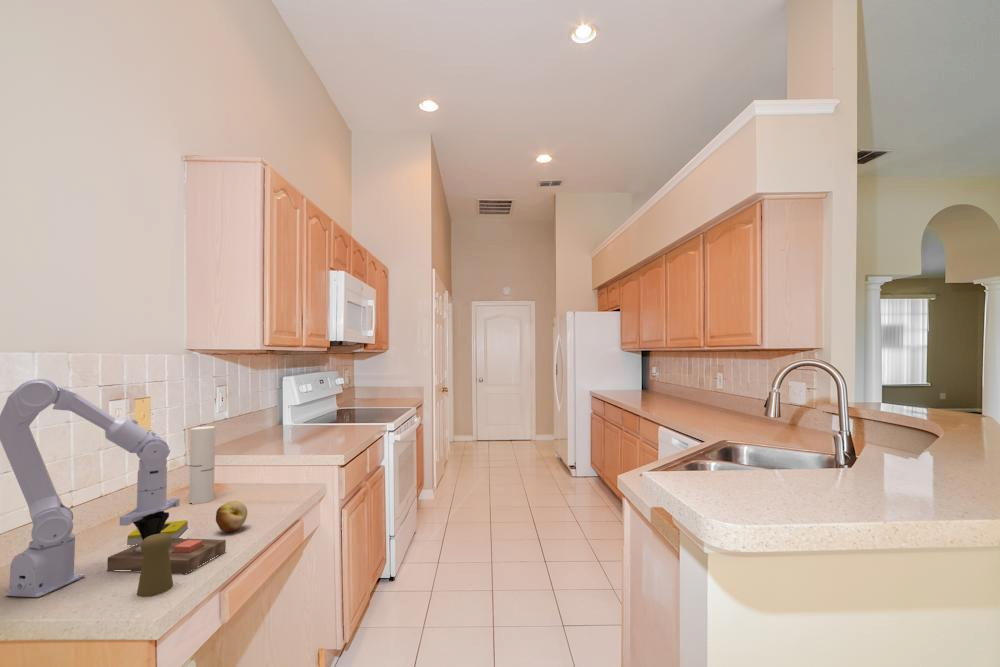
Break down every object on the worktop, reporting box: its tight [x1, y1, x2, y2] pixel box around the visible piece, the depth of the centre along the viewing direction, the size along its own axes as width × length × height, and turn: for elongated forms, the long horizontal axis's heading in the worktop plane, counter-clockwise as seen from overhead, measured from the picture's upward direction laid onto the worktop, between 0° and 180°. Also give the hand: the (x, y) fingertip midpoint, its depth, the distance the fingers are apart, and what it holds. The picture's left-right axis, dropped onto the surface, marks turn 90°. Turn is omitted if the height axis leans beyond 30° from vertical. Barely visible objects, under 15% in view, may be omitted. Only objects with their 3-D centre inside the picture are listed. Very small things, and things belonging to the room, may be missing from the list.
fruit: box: [215, 500, 248, 533], centre depth 130 cm, size 8×8×8 cm
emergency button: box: [126, 520, 189, 545], centre depth 126 cm, size 9×4×15 cm
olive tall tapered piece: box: [136, 533, 174, 598], centre depth 96 cm, size 6×6×11 cm
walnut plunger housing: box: [106, 538, 227, 574], centre depth 110 cm, size 12×20×3 cm, turn 83°
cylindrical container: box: [188, 425, 216, 505], centre depth 160 cm, size 7×7×25 cm
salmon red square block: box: [174, 540, 203, 553], centre depth 109 cm, size 4×4×3 cm
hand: (150, 546), depth 111 cm, fingers closed, pressing on off-white plunger
